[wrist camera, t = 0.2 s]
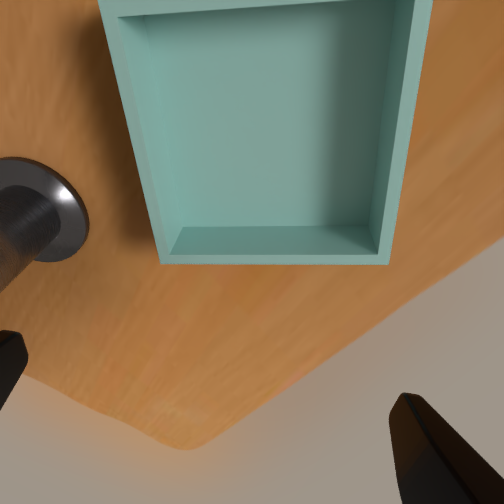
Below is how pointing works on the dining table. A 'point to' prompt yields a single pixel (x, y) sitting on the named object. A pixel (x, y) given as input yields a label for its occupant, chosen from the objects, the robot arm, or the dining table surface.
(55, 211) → the strut
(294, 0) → the bin
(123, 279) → the dining table surface
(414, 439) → the robot arm
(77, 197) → the dark metal disc
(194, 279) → the dining table surface
